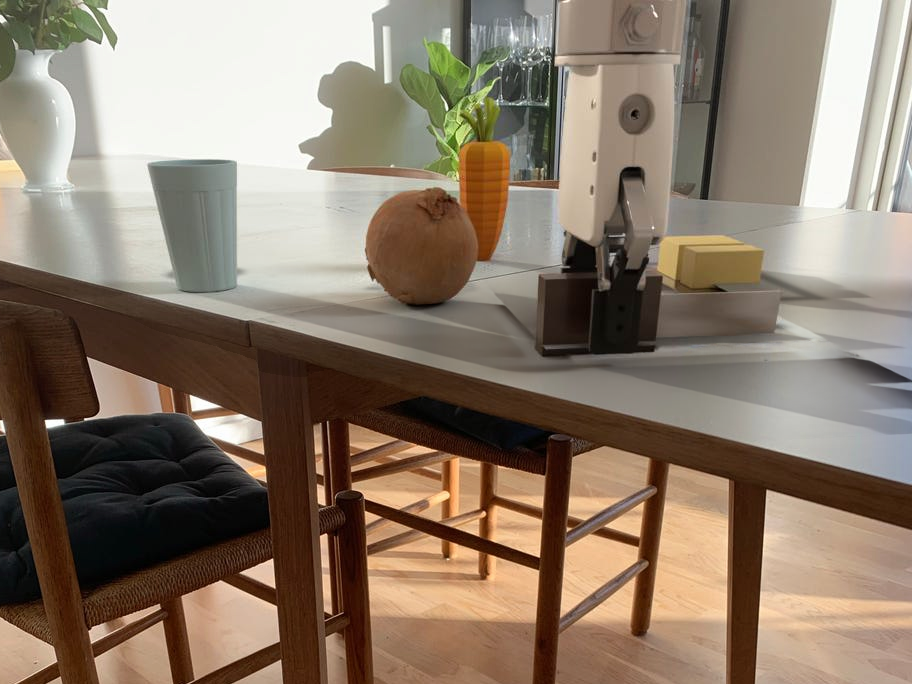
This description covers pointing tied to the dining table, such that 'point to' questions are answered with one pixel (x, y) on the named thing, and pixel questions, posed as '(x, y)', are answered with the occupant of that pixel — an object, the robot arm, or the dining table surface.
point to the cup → (198, 220)
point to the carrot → (484, 179)
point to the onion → (421, 246)
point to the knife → (648, 312)
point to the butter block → (674, 251)
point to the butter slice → (720, 265)
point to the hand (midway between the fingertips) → (595, 336)
